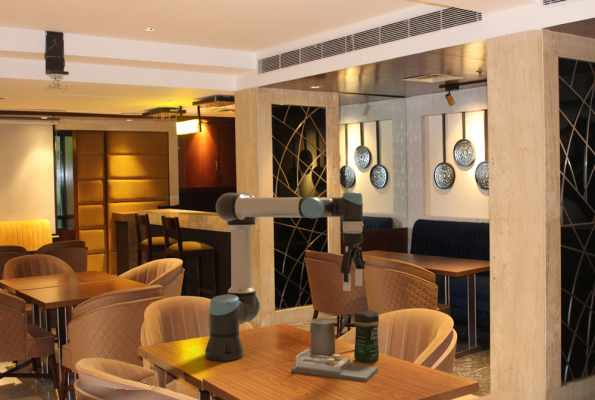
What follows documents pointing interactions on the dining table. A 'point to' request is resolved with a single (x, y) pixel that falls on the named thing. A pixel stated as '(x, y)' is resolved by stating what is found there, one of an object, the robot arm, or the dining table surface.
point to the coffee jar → (366, 336)
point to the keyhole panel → (320, 362)
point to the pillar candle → (322, 337)
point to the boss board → (349, 373)
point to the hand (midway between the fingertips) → (353, 288)
